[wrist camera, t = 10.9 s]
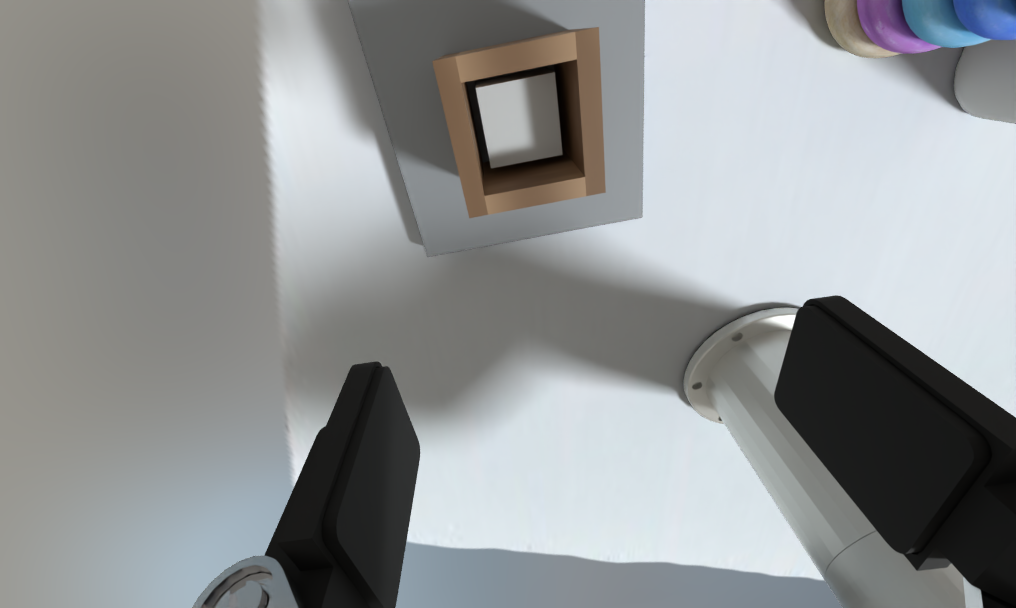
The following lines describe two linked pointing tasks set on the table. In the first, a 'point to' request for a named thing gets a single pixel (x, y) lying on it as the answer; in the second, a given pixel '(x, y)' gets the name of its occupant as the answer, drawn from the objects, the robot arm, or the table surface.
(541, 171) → the wooden cube shelf
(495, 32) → the board
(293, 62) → the table surface
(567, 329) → the table surface
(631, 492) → the table surface
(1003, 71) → the cup
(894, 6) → the stacking toy
